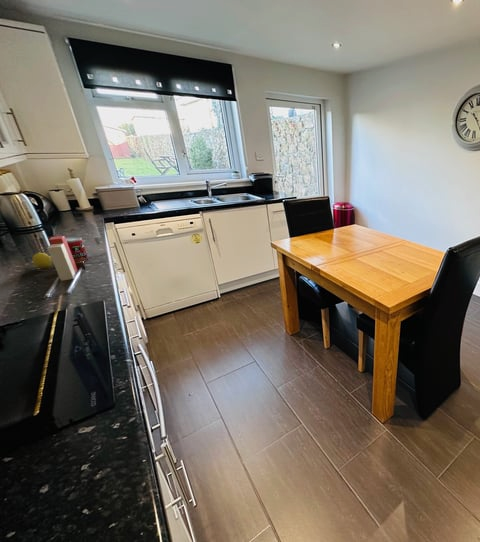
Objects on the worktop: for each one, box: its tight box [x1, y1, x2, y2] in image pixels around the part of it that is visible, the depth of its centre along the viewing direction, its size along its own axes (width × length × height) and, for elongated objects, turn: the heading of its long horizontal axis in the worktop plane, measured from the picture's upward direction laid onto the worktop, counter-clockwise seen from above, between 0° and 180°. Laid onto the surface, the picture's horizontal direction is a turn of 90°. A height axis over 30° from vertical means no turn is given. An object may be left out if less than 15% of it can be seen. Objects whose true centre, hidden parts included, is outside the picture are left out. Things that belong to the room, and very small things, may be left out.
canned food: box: [65, 236, 89, 262], centre depth 136 cm, size 8×8×11 cm
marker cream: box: [46, 243, 76, 282], centre depth 114 cm, size 4×5×14 cm
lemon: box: [32, 252, 53, 270], centre depth 125 cm, size 6×6×8 cm
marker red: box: [48, 235, 78, 274], centre depth 117 cm, size 4×5×16 cm
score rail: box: [42, 261, 87, 299], centre depth 113 cm, size 8×30×4 cm, turn 35°
